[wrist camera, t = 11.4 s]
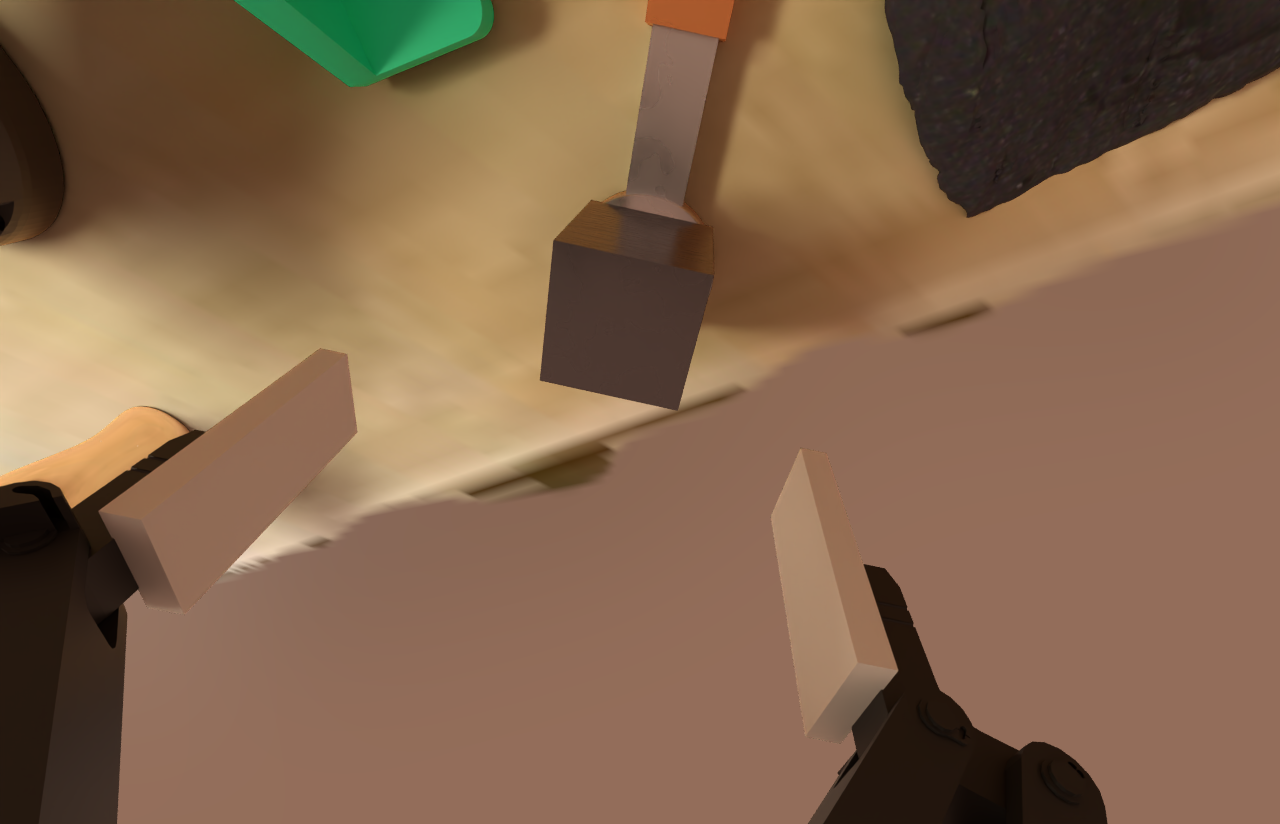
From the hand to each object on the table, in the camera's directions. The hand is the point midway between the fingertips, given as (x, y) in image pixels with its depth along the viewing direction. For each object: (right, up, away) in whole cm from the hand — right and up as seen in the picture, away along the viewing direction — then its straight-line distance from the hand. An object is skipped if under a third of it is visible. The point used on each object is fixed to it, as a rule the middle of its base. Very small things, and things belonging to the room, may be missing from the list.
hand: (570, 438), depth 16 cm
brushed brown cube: (+2, +8, +14) cm, 16 cm away
